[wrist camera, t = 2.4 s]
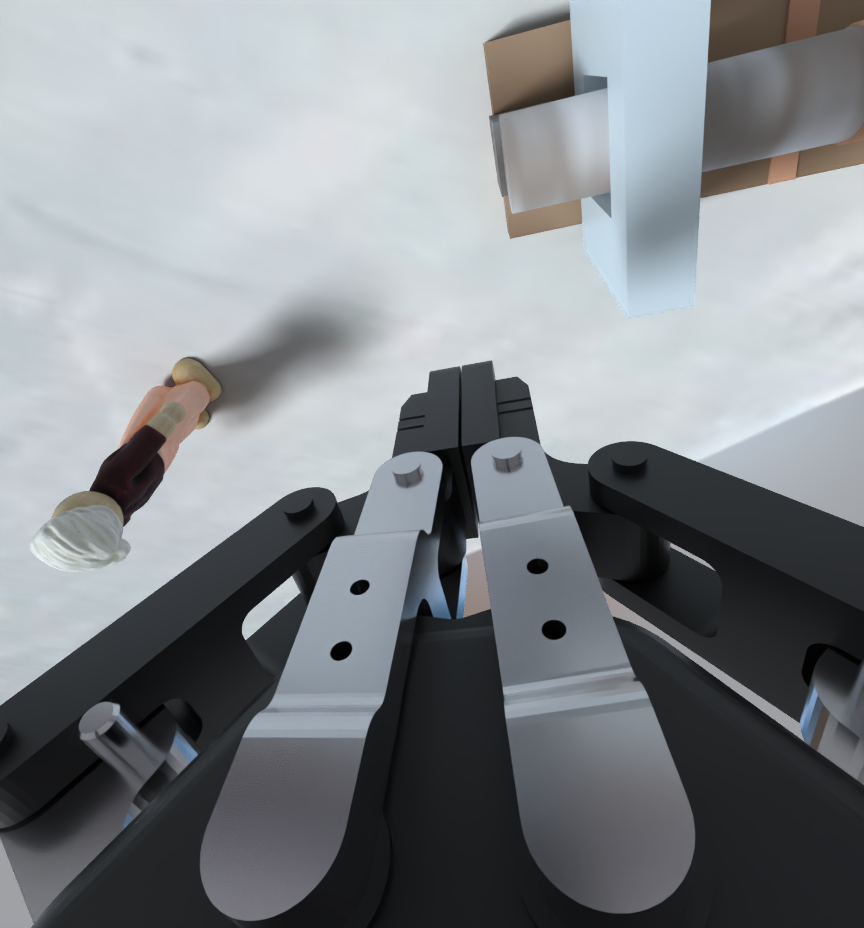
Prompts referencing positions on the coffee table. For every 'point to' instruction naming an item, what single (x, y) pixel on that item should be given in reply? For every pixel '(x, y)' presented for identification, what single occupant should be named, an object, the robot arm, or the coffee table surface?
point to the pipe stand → (726, 107)
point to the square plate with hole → (646, 144)
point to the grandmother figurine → (127, 475)
